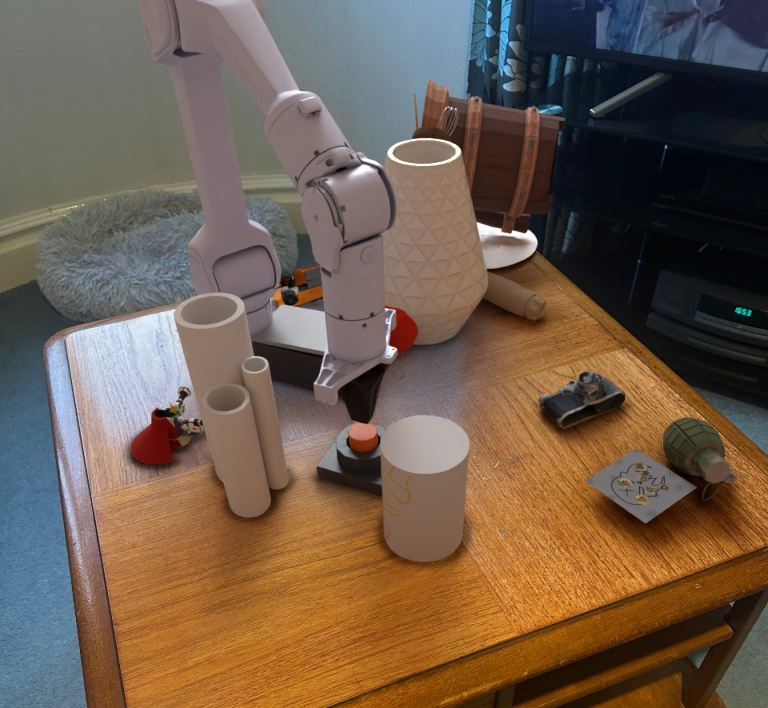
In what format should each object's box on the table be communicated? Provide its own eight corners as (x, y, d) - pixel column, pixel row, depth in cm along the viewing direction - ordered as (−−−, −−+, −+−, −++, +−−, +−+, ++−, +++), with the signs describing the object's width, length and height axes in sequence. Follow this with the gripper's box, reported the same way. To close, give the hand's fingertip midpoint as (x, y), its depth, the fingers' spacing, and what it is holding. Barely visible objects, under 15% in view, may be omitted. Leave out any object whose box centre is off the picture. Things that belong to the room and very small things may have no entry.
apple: (384, 321, 102) (382, 270, 97) (436, 340, 99) (437, 288, 93) (345, 351, 98) (341, 299, 92) (399, 372, 94) (398, 319, 88)
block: (317, 477, 80) (314, 453, 78) (349, 434, 85) (347, 411, 83) (382, 496, 78) (381, 473, 75) (411, 451, 83) (411, 428, 80)
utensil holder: (444, 180, 92) (461, 88, 92) (396, 174, 93) (413, 83, 93) (445, 201, 98) (461, 115, 98) (400, 195, 99) (415, 109, 99)
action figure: (228, 441, 85) (219, 404, 81) (151, 479, 81) (137, 442, 77) (192, 405, 90) (182, 368, 86) (117, 438, 86) (103, 402, 82)
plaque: (396, 227, 122) (396, 218, 121) (502, 208, 127) (503, 200, 126) (443, 284, 110) (444, 275, 108) (559, 261, 114) (561, 252, 113)
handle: (526, 318, 97) (438, 275, 103) (536, 333, 103) (452, 292, 109) (545, 286, 97) (456, 245, 103) (554, 303, 103) (469, 263, 108)
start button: (344, 448, 79) (343, 436, 78) (357, 431, 81) (356, 419, 80) (370, 456, 78) (369, 443, 77) (382, 438, 80) (382, 426, 79)
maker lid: (377, 325, 91) (377, 320, 90) (348, 360, 86) (347, 356, 85) (282, 308, 96) (281, 304, 95) (248, 341, 90) (247, 336, 90)
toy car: (305, 248, 111) (310, 267, 113) (255, 291, 105) (262, 310, 108) (367, 260, 105) (371, 280, 108) (319, 306, 100) (324, 326, 102)
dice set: (638, 460, 78) (635, 473, 79) (606, 481, 76) (603, 494, 77) (677, 485, 75) (673, 498, 76) (644, 507, 73) (641, 520, 74)
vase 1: (208, 458, 83) (165, 303, 69) (268, 440, 85) (238, 285, 71) (237, 523, 76) (195, 364, 61) (301, 501, 78) (275, 342, 63)
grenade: (687, 470, 84) (728, 515, 76) (638, 446, 82) (674, 490, 74) (724, 425, 81) (770, 467, 73) (674, 399, 79) (716, 439, 71)
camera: (531, 409, 88) (536, 380, 85) (599, 384, 91) (605, 355, 88) (557, 432, 84) (563, 403, 81) (626, 405, 88) (634, 376, 85)
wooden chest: (407, 264, 115) (531, 279, 115) (417, 147, 94) (570, 165, 94) (419, 176, 122) (536, 189, 121) (431, 48, 100) (574, 64, 100)
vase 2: (406, 281, 110) (405, 116, 93) (507, 314, 102) (525, 142, 86) (335, 333, 100) (320, 161, 84) (441, 374, 93) (447, 194, 76)
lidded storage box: (375, 363, 95) (373, 328, 92) (346, 399, 90) (343, 364, 86) (287, 342, 99) (282, 308, 96) (255, 375, 94) (248, 341, 90)
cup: (380, 506, 77) (376, 418, 68) (456, 500, 77) (461, 412, 69) (387, 565, 71) (384, 477, 63) (468, 558, 72) (476, 470, 63)
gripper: (359, 355, 61) (366, 471, 71) (423, 276, 70) (422, 388, 80) (287, 337, 64) (304, 452, 73) (358, 263, 73) (365, 374, 82)
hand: (361, 418), depth 77 cm, fingers closed
